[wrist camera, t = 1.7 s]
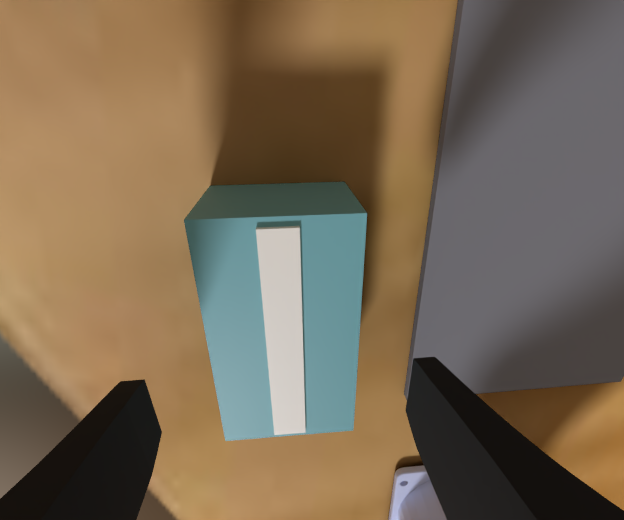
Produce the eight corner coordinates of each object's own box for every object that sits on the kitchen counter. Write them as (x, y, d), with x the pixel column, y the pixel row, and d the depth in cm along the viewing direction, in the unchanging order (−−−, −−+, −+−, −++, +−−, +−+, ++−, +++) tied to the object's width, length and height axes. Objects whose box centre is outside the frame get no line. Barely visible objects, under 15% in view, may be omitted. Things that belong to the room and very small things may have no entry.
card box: (338, 359, 17) (353, 433, 13) (237, 366, 17) (224, 444, 13) (343, 180, 13) (368, 214, 9) (211, 184, 13) (182, 221, 9)
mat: (614, 375, 19) (620, 381, 19) (404, 393, 18) (406, 399, 18) (822, -40, 11) (841, -44, 11) (463, -41, 10) (470, -46, 10)
